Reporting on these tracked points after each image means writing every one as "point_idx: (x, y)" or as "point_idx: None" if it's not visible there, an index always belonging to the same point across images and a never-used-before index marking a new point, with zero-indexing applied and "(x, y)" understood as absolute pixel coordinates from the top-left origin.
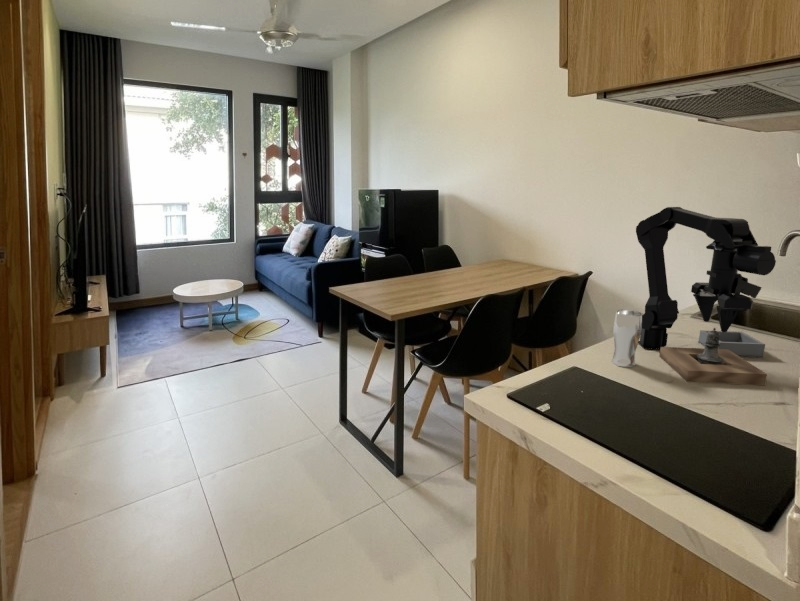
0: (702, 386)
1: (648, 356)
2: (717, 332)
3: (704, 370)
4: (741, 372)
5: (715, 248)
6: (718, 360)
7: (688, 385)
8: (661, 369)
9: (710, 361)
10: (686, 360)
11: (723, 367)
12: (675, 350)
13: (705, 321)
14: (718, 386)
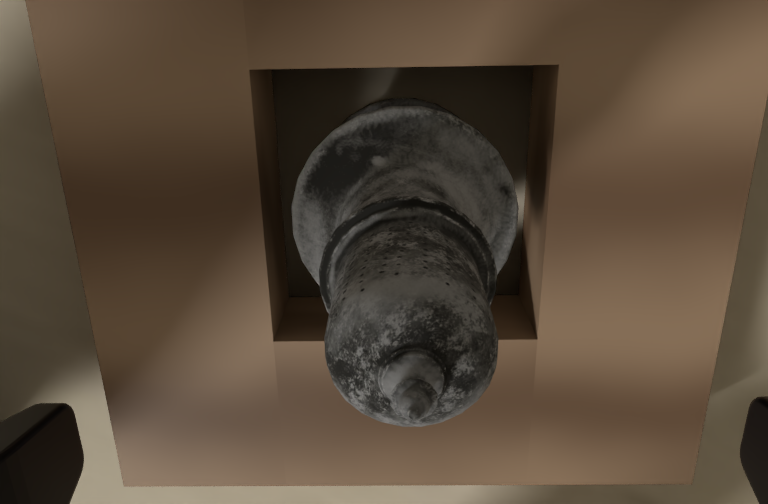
0: (741, 362)
1: (173, 494)
2: (459, 344)
3: (694, 375)
4: (757, 79)
5: None
6: (496, 183)
7: (720, 438)
8: (437, 496)
9: (506, 256)
10: (457, 416)
11: (620, 186)
12: (197, 408)
13: (78, 451)
14: (747, 257)
